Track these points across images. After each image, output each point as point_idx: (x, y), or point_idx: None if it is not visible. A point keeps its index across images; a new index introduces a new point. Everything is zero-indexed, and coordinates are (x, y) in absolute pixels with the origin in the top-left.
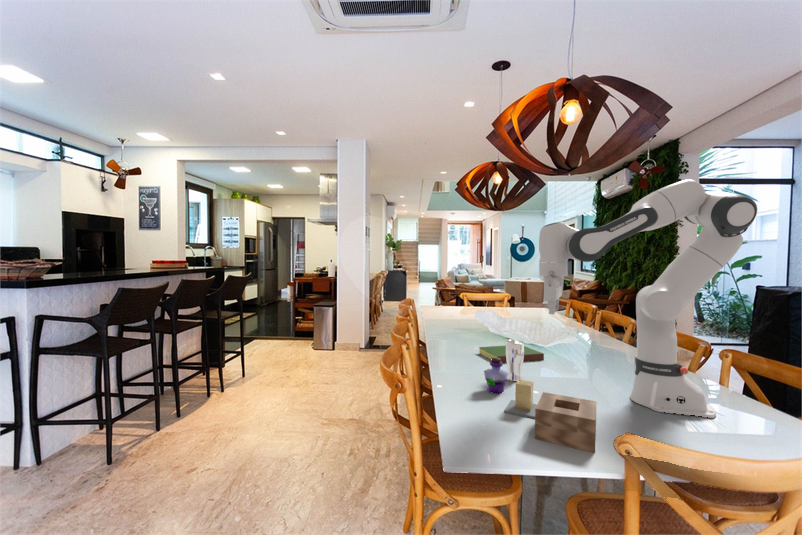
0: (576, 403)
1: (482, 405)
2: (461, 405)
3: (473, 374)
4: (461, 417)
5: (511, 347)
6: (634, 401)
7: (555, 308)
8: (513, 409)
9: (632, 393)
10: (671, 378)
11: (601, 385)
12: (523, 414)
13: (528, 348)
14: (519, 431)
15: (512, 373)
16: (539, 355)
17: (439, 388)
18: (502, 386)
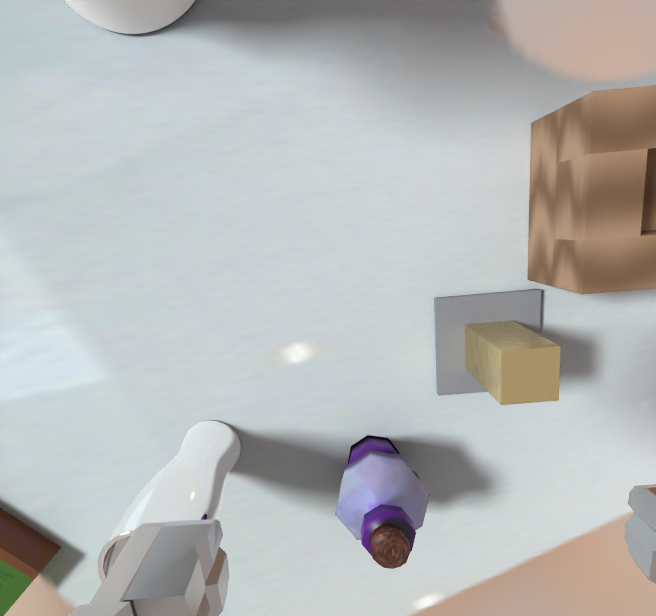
0: (643, 161)
1: (515, 450)
2: (546, 495)
3: (252, 568)
4: (628, 465)
5: None
6: (182, 14)
7: (206, 578)
8: None
9: (142, 11)
10: None
11: (51, 154)
12: (539, 332)
13: None
14: (646, 312)
15: (229, 463)
16: None
17: (448, 593)
18: (388, 449)
